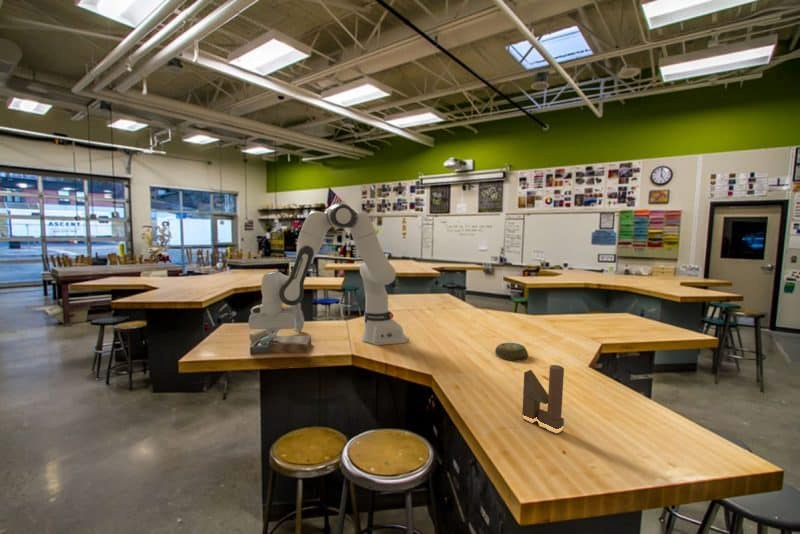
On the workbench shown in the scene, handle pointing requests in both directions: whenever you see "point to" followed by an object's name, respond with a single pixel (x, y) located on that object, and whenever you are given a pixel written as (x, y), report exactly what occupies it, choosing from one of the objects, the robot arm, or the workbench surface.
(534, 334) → the workbench surface
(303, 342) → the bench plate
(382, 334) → the robot arm
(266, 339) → the tile
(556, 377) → the brown letter n
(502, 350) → the weight
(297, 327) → the hammer
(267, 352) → the tray
